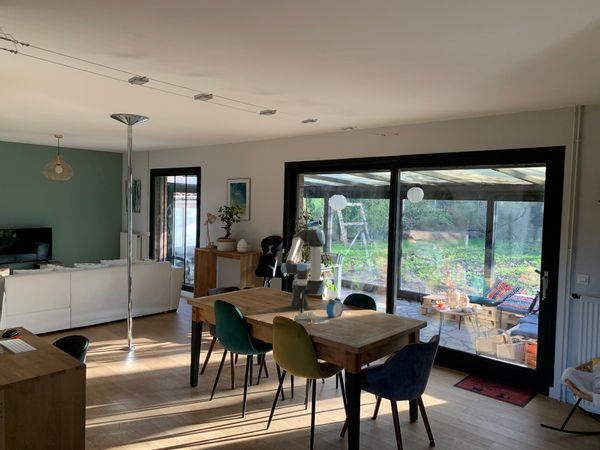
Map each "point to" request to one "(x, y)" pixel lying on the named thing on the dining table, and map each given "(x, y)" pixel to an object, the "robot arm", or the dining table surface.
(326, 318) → the tuner board
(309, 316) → the dial
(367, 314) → the dining table surface
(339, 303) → the alarm clock
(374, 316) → the dining table surface
